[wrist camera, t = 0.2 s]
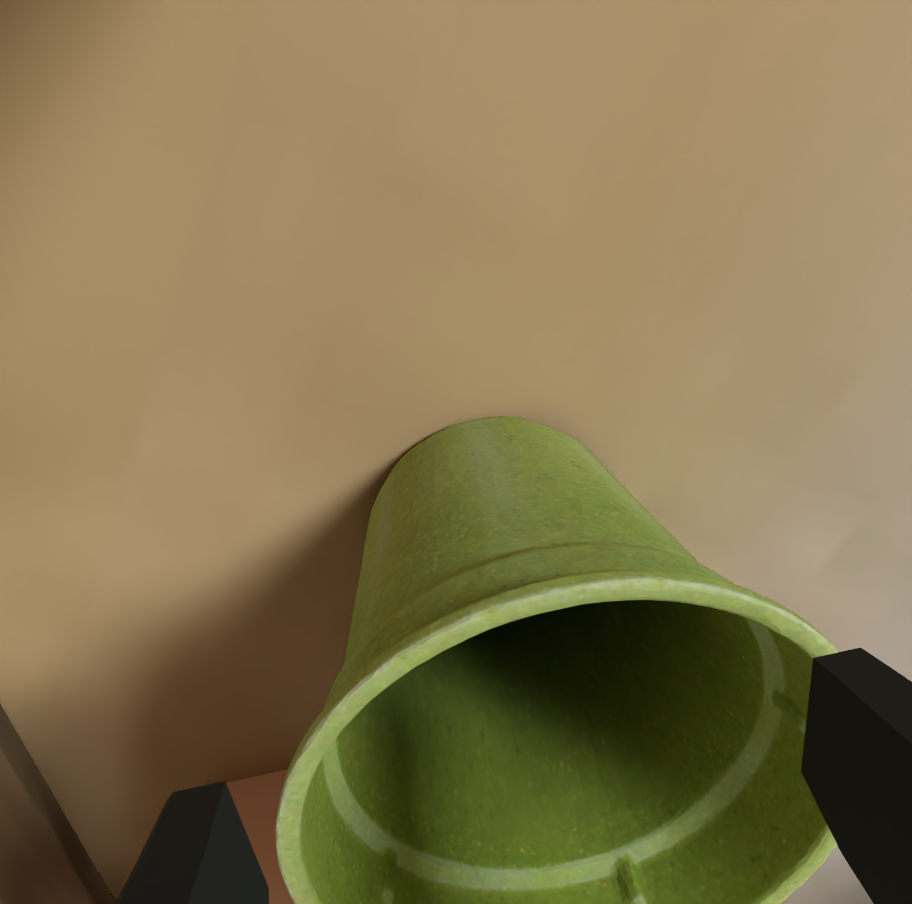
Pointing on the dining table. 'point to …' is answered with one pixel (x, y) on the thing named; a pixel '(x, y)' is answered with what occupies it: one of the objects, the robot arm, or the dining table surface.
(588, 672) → the plant pot
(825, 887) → the dining table surface
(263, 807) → the terracotta book
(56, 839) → the shelf
